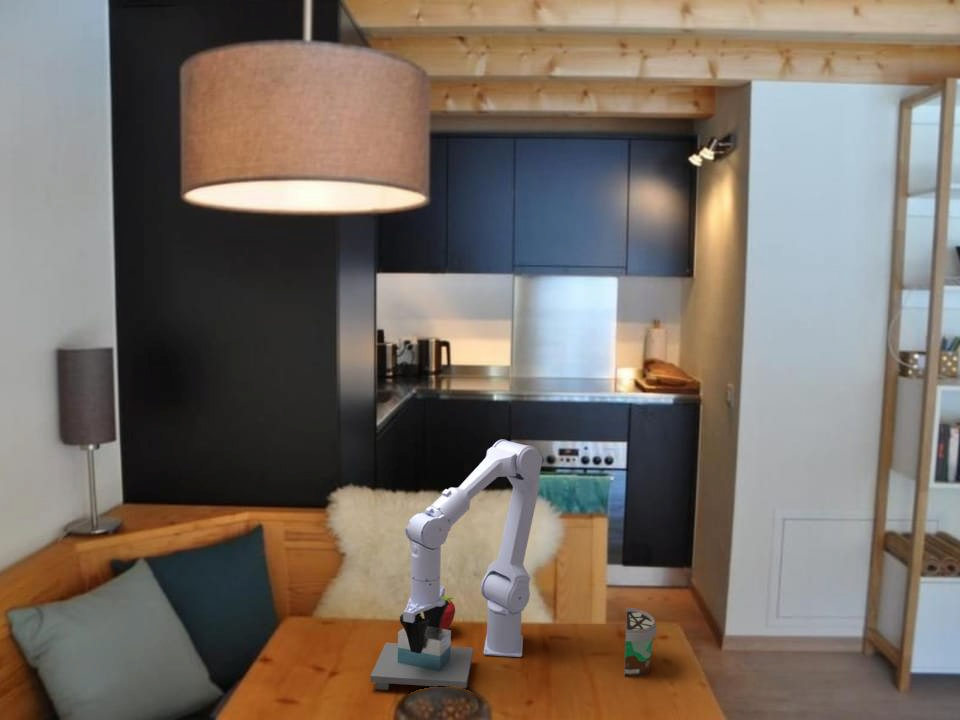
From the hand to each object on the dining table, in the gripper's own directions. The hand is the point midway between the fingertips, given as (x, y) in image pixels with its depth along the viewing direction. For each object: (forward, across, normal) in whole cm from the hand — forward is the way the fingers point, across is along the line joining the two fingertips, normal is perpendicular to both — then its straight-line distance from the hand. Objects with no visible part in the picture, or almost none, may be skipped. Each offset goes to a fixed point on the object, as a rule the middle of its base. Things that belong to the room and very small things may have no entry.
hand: (424, 644), depth 144 cm
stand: (+6, 0, 0) cm, 6 cm away
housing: (+3, 0, 0) cm, 3 cm away
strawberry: (+7, +18, +5) cm, 20 cm away
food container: (+7, +21, -38) cm, 44 cm away
